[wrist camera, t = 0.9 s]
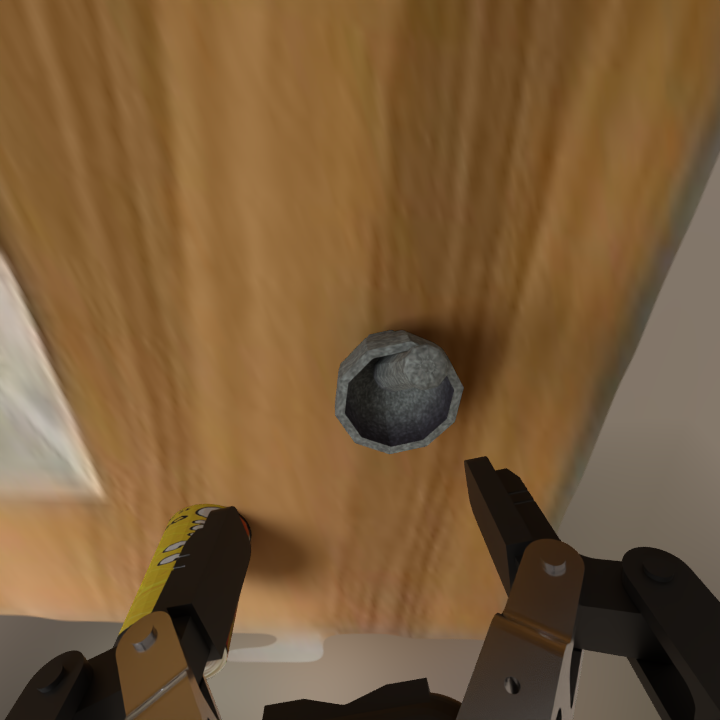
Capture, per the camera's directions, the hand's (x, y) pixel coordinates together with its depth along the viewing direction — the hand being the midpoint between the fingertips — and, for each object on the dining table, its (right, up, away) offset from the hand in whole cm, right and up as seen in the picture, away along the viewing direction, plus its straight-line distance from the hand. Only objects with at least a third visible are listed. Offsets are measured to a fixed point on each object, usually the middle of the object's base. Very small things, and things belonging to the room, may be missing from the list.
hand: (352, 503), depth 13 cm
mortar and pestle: (+3, +5, +22) cm, 23 cm away
